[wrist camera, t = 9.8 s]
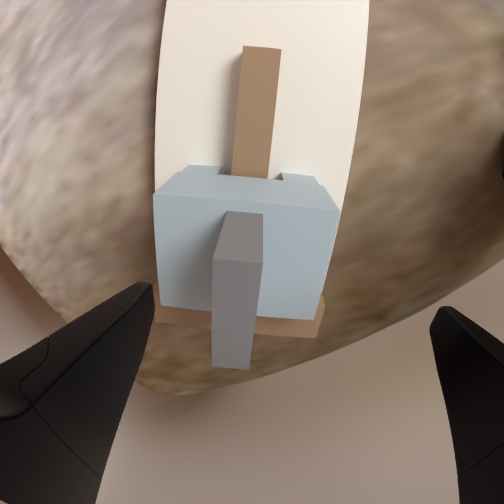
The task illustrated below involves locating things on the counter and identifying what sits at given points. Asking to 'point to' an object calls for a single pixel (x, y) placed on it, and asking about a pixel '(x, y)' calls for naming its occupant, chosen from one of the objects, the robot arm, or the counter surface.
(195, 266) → the cabinet block
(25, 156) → the counter surface
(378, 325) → the counter surface
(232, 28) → the mounting board
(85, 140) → the counter surface
